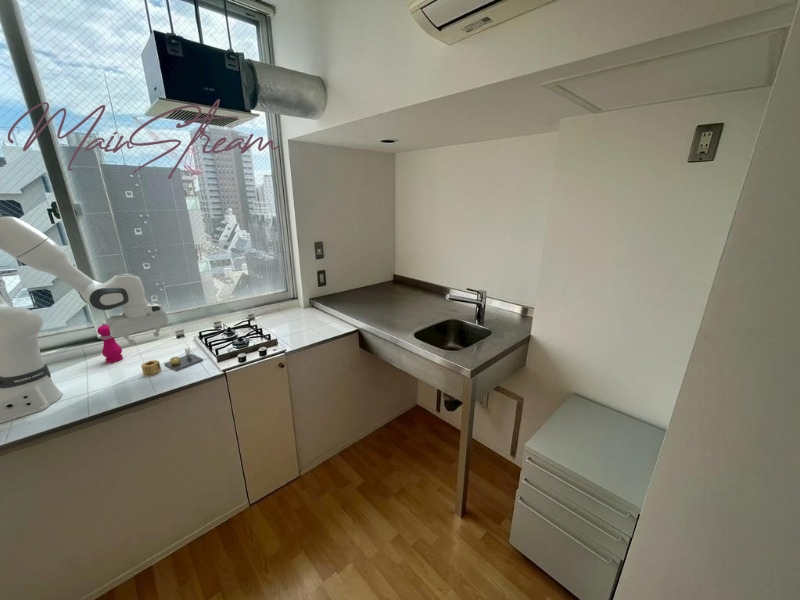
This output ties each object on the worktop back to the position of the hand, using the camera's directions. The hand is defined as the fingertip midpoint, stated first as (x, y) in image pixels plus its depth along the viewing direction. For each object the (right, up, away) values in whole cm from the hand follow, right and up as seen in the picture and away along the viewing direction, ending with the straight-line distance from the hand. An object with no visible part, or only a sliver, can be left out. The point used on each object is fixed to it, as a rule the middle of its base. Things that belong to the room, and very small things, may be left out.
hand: (144, 339), depth 139 cm
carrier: (+9, -13, +13) cm, 20 cm away
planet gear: (0, -15, +4) cm, 16 cm away
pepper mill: (-28, -12, +16) cm, 34 cm away
